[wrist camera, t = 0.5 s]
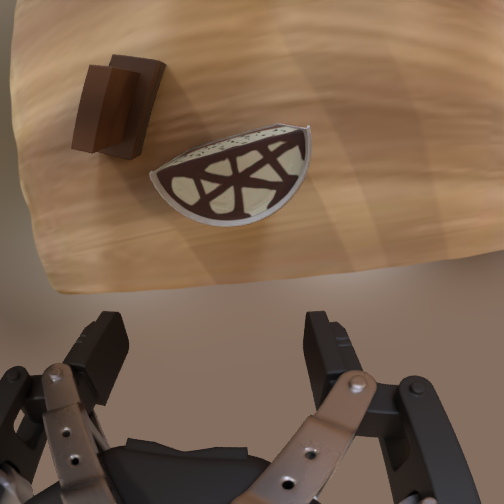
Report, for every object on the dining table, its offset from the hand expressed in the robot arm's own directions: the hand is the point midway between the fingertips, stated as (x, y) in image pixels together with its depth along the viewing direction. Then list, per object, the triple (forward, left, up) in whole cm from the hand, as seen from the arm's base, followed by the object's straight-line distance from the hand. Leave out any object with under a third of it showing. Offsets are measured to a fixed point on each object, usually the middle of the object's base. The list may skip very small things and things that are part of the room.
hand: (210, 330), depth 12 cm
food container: (-3, 0, -21) cm, 21 cm away
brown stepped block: (-6, -13, -21) cm, 25 cm away
